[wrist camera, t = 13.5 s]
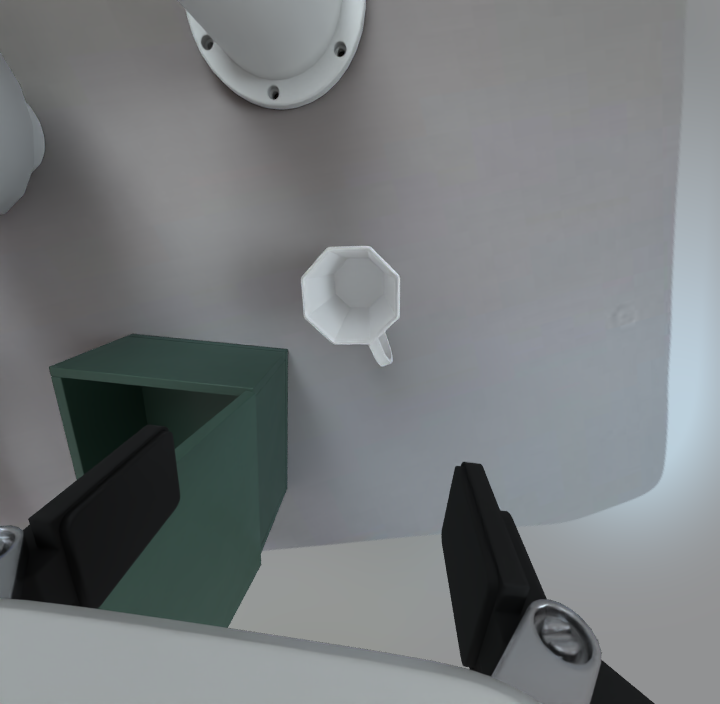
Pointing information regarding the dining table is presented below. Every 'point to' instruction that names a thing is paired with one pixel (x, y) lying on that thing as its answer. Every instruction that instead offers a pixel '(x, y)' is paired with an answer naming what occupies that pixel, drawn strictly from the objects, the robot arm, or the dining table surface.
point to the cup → (353, 298)
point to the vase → (16, 139)
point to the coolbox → (174, 400)
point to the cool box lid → (203, 529)
